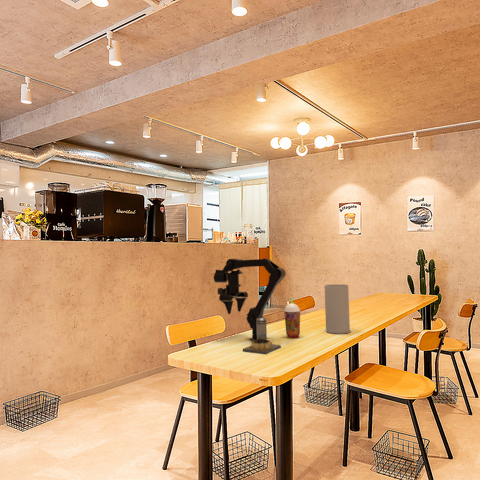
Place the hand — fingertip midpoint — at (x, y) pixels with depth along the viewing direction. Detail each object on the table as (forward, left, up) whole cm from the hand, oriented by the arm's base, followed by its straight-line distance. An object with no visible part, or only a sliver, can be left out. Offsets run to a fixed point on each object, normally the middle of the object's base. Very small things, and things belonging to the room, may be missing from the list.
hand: (234, 312), depth 212 cm
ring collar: (+15, +25, -13) cm, 32 cm away
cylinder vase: (-37, +42, -13) cm, 58 cm away
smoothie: (-15, +26, -13) cm, 33 cm away
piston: (+15, +25, -12) cm, 31 cm away
